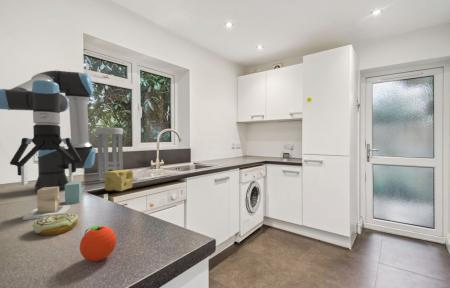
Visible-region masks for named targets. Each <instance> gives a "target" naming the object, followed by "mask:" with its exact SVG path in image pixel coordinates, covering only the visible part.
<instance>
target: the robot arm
mask: <svg viewBox="0 0 450 288" xmlns="http://www.w3.org/2000/svg"><path fill="white" fill-rule="evenodd" d="M63 94H64V95H63ZM93 94H94V87H93V82H92V79H91V77H90V75H89V74H88V73H83V72H78V71H77V72H76V71H65V70H64V71H63V70H47V71H43V72H39V73H36V74H34V75H33V76H32V77H31V79H29V80H26V81H25V82H23V83H21V84H19V85H17V86H14V87H12V88H9V89H6V88H0V110H8V111H32V121H33V122H32V123H33V124H34V125H33V126H32V127H33V137H32V138H29V137H23V138H21V141H20V142H21V143H20V145H19V147H18V148H17V150H16V152H15V153H14V155H13V156H12V159H11V160H10V162H9V164H10V165H11V166H16V168H17V175H18V176H20V178H21V179H20V180H21V186H25V185H27V184H28V165H25V164H27V163H28V162H29V161H30V159H31V158H33V157H34V156H35V155H36V154H38V155H37V164H38V165H37V166H38V167H37V169H38V170H37V173H38V177H37V179H36V181H35V185H34V191H35V192H37V190H39V189H41V188H46V187H59V191H60V190H65V185H66V184H67V183H73V181H74V173H76V171H77V169H88V168H89V169H90V168H92V167H93V166H94V164H95V159H96V148H95V147H93V144H92V143H91V142H90V138H89V135H90V134H89V115H88V114H89V113H88V112H89V111H88V101H89V100H90V99H91V96H93ZM68 109H69V127H70V128H69V129H70V137H66V138H65V137H64V138H62V136H61V126H60V124H61V113H63V112H66V111H67V110H68ZM31 143H32V144H34V146H33V147H32V148H31V150H30V151H29V152H28V153H26V155H25V156H23V155H24V153H25V152H26V150H27V148H28V146H29V145H31ZM61 143H63V144H65V145H66V146H63V145H61ZM66 147H67V148H66ZM22 156H23V158H22ZM66 170H68V177H67V175H66Z"/></svg>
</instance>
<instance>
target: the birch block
mask: <svg viewBox="0 0 450 288" xmlns="http://www.w3.org/2000/svg"><path fill="white" fill-rule="evenodd" d="M36 193H37V195H36V199H37V201H36V202H37V208H38V213H45V212H54V211H56V210H57V209H58V208H59V206H60V190H59V187H46V188H41V189H39V190H37V191H36Z"/></svg>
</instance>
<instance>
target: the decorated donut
mask: <svg viewBox="0 0 450 288" xmlns="http://www.w3.org/2000/svg"><path fill="white" fill-rule="evenodd" d="M78 221H79V217H78V215H77V214H76V213H71V212H66V213H60V214H55V215H50V216H46V217H43V218H38V219H37V220H35V221H34V222H33V224H32V229H33V231H34V233H36V234H38V235H40V236H43V237H45V236H55V235H60V234H63V233H65V232H69V231H70V230H73V228H74V227H75V226H76V225H77V224H78Z"/></svg>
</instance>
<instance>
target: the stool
mask: <svg viewBox="0 0 450 288" xmlns="http://www.w3.org/2000/svg"><path fill="white" fill-rule="evenodd" d="M95 134H96V136H97V137H96V138H97V181H98V180H103V183H104V182H105V172H110V170H111V171H115V170H124V160H123V159H124V156H123V155H124V153H123V146H124V145H123V134H124V128H121V127H96V128H95ZM109 135H110V136H111V160H112V161H109Z"/></svg>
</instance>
